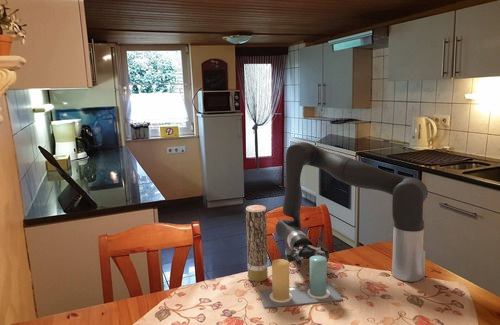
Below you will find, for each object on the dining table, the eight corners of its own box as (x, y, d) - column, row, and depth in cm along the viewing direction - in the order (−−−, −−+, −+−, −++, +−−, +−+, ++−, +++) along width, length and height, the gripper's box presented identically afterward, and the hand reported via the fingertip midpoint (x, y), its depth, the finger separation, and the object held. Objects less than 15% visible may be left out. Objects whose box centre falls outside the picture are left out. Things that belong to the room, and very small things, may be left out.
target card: (331, 284, 119) (331, 283, 119) (343, 300, 109) (343, 298, 109) (259, 291, 116) (259, 289, 116) (264, 308, 106) (264, 306, 106)
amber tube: (287, 291, 114) (286, 258, 113) (291, 299, 109) (290, 265, 107) (271, 292, 114) (270, 259, 112) (274, 301, 109) (273, 267, 107)
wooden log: (268, 273, 128) (266, 204, 124) (267, 282, 121) (265, 210, 117) (249, 273, 128) (247, 204, 124) (246, 282, 122) (244, 210, 118)
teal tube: (323, 287, 116) (323, 254, 114) (329, 295, 111) (329, 261, 109) (307, 289, 115) (307, 256, 114) (312, 297, 110) (312, 263, 108)
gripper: (280, 235, 131) (291, 253, 115) (318, 232, 133) (334, 249, 117) (280, 254, 132) (291, 275, 116) (318, 251, 134) (334, 271, 118)
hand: (313, 262), depth 117 cm, fingers open, 8 cm apart
